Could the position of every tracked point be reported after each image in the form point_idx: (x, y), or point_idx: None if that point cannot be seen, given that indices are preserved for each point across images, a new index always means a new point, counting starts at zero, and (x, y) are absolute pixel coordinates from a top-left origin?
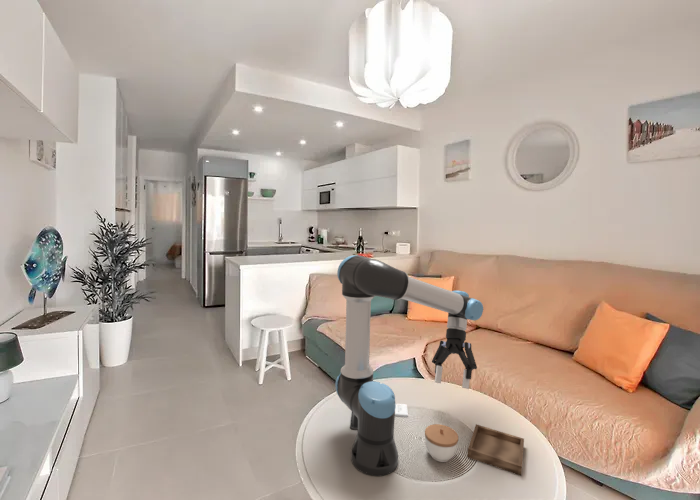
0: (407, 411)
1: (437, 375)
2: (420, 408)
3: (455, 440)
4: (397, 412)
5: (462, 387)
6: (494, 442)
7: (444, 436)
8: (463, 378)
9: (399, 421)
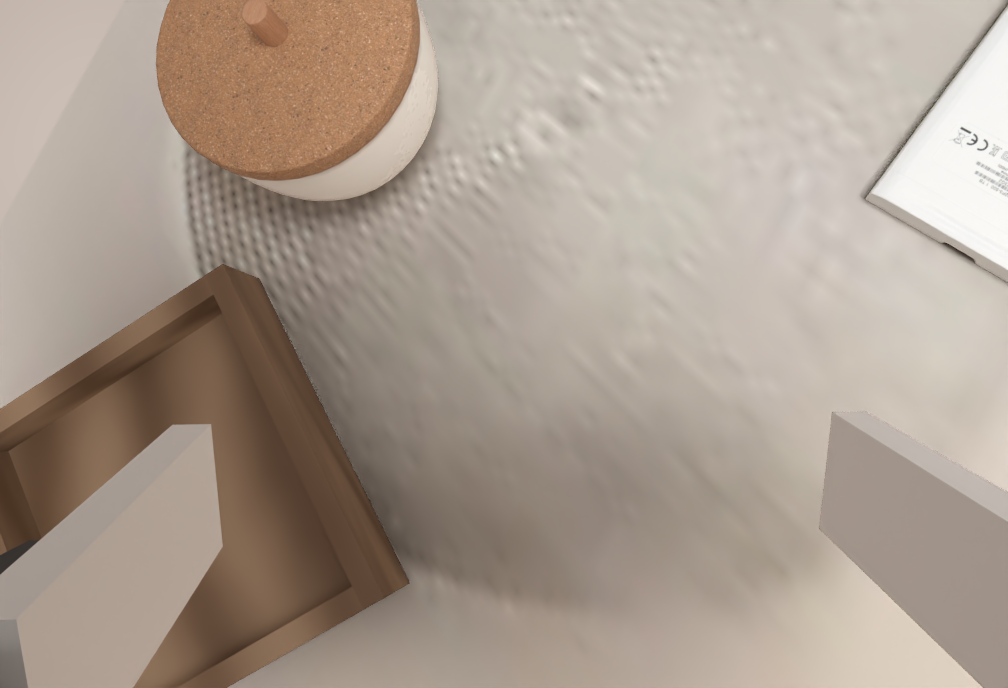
0: (930, 222)
1: (909, 482)
2: (947, 416)
3: (164, 81)
4: (959, 119)
5: (203, 427)
6: (224, 568)
7: (233, 26)
8: (126, 494)
9: (841, 89)
